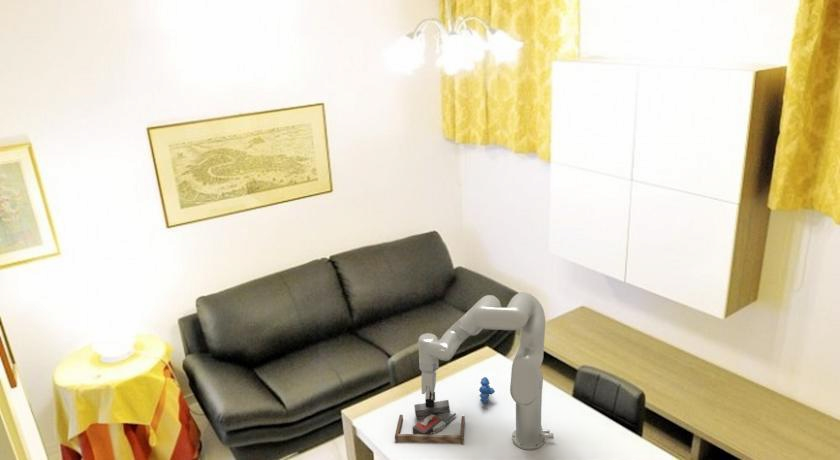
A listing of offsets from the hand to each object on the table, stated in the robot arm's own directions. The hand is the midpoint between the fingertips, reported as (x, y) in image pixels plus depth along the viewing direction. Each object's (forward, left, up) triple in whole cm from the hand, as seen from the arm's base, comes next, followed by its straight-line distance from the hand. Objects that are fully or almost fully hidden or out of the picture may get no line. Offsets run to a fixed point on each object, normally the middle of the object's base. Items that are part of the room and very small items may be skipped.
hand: (430, 403), depth 247 cm
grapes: (-22, -13, -9) cm, 27 cm away
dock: (0, +7, -8) cm, 11 cm away
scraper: (0, -3, -7) cm, 7 cm away
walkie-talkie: (-1, +3, -9) cm, 9 cm away
